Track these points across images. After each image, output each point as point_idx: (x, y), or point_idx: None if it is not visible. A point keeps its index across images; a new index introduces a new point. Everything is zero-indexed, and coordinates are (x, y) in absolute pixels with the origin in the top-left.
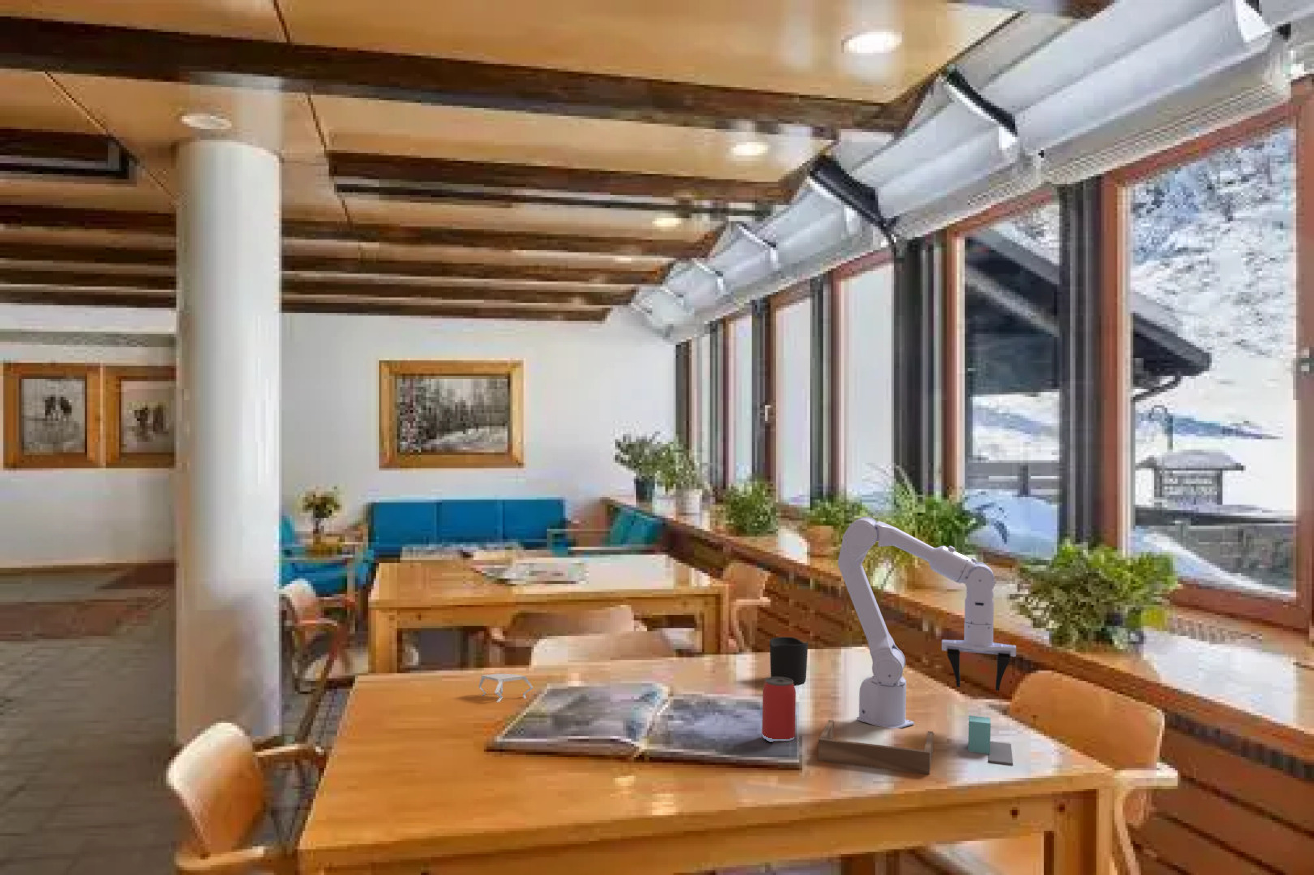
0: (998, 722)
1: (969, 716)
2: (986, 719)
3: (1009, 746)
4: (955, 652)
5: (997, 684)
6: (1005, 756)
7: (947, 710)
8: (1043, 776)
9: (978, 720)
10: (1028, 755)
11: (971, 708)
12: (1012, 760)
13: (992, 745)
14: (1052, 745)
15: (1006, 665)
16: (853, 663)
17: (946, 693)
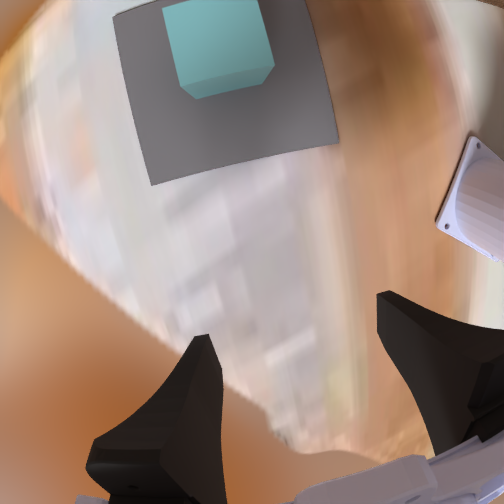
0: (242, 367)
1: (267, 49)
2: (189, 48)
3: (148, 155)
4: (495, 409)
5: (195, 349)
6: (138, 54)
7: (366, 378)
8: (46, 5)
9: (217, 16)
10: (92, 129)
11: (318, 415)
12: (116, 36)
13: (195, 132)
14: (72, 260)
15: (115, 428)
16: None
17: (368, 450)
